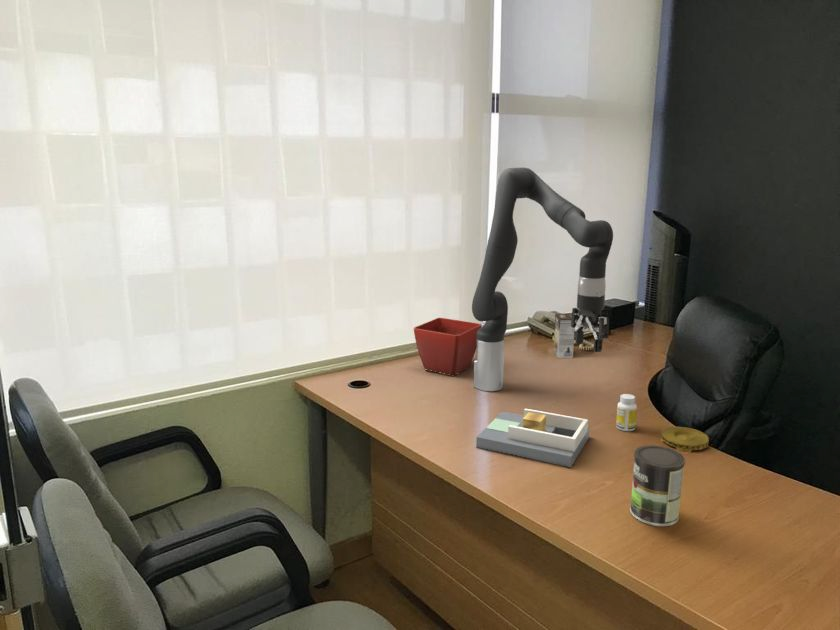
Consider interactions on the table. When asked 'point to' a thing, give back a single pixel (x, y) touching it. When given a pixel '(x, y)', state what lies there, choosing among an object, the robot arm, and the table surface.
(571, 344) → the coffee box
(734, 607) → the table surface
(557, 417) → the walled pit deck
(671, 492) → the coffee can
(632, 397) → the supplement bottle
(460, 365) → the plant pot
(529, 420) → the mustard block
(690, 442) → the gold flat disc
